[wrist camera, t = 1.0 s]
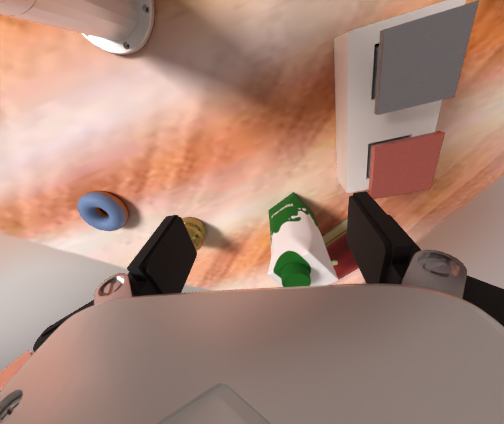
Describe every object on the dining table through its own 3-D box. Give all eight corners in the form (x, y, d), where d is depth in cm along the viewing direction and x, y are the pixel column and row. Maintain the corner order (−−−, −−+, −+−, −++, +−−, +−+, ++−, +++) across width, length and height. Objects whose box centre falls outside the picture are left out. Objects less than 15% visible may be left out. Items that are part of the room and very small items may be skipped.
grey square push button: (359, 38, 26) (384, 29, 20) (431, 17, 24) (478, 0, 19) (357, 107, 30) (377, 115, 24) (418, 92, 28) (454, 96, 23)
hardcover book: (390, 233, 48) (400, 246, 44) (321, 276, 58) (324, 289, 54) (359, 205, 44) (367, 217, 41) (290, 256, 54) (292, 269, 50)
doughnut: (90, 179, 43) (74, 191, 40) (137, 203, 47) (126, 216, 43) (84, 207, 49) (69, 220, 45) (126, 226, 52) (115, 240, 49)
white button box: (333, 38, 29) (348, 31, 24) (429, 8, 27) (467, -7, 22) (336, 178, 40) (347, 193, 35) (403, 165, 38) (424, 179, 33)
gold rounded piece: (202, 214, 47) (189, 244, 39) (210, 239, 51) (200, 270, 43) (172, 217, 48) (153, 247, 40) (183, 241, 52) (167, 272, 44)
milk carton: (294, 186, 42) (313, 259, 25) (319, 213, 45) (350, 293, 29) (262, 210, 45) (261, 287, 29) (287, 233, 49) (299, 314, 32)
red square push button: (356, 135, 32) (375, 147, 26) (413, 122, 30) (444, 132, 25) (355, 180, 36) (370, 199, 31) (404, 171, 35) (430, 189, 29)
